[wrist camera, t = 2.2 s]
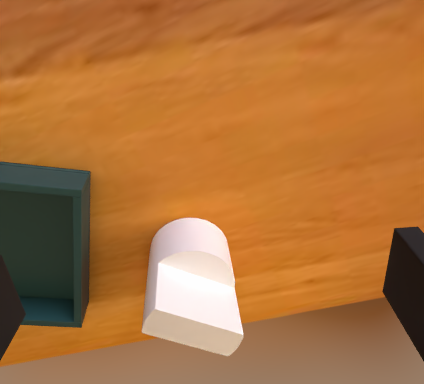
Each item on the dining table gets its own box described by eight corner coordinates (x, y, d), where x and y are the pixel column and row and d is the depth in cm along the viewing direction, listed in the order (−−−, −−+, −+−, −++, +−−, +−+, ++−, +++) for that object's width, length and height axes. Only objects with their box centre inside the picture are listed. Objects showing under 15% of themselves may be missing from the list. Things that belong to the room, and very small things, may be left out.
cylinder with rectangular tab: (138, 267, 44) (126, 354, 34) (169, 206, 41) (166, 282, 30) (207, 289, 47) (216, 376, 36) (241, 233, 43) (263, 312, 32)
